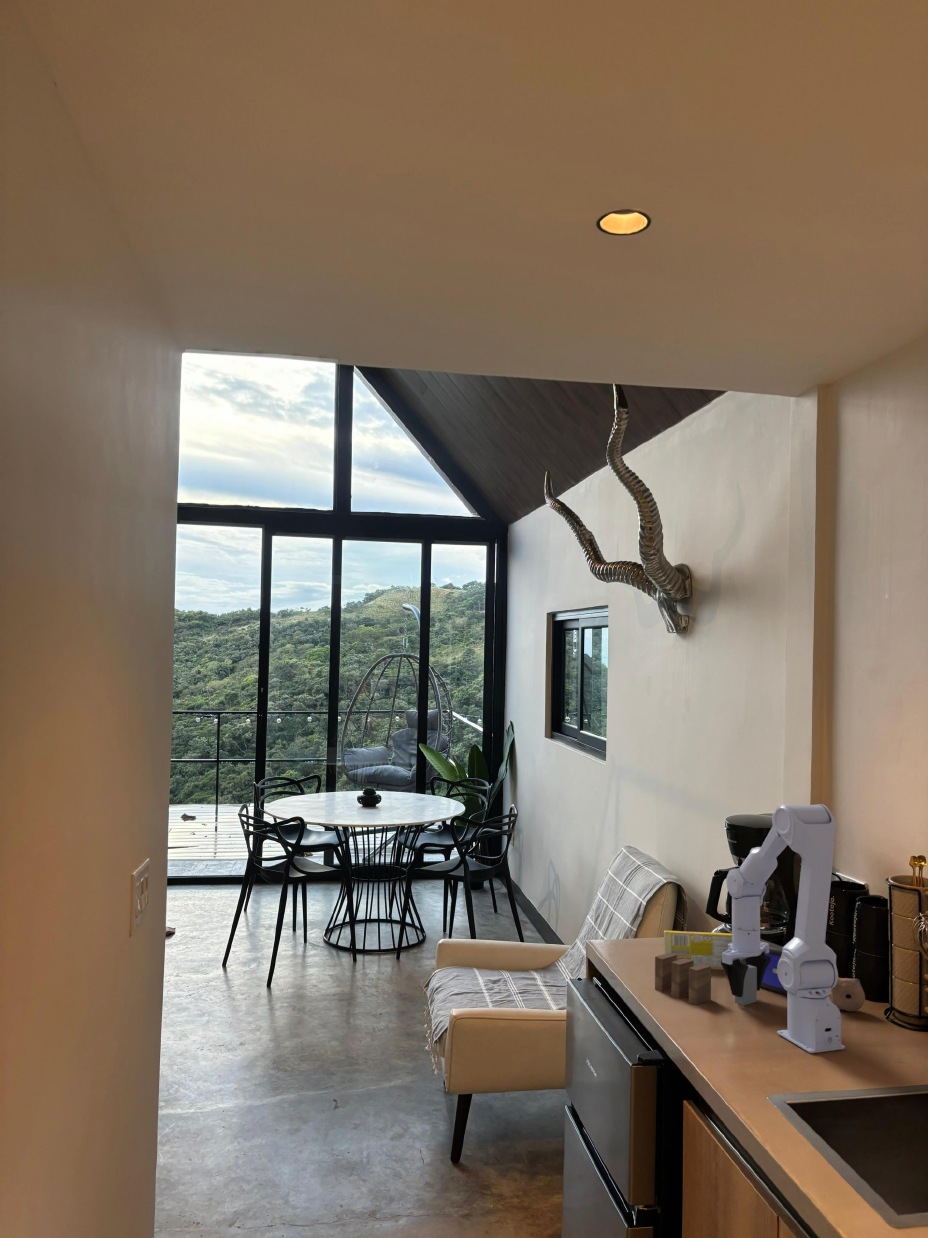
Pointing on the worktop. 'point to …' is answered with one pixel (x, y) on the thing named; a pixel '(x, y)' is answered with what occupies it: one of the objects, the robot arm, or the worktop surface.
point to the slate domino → (749, 987)
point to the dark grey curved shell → (772, 969)
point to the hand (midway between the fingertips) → (746, 992)
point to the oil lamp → (848, 994)
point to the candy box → (698, 946)
